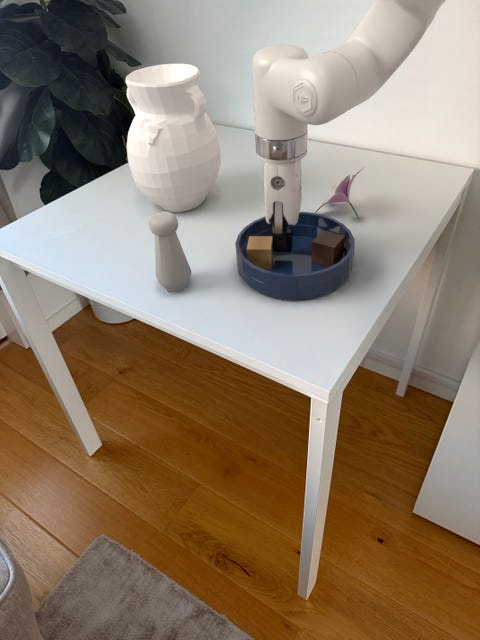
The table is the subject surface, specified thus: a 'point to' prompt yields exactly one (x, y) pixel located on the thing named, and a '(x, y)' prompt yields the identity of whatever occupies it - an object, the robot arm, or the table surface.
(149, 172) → the white vase
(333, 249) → the walnut block
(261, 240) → the maple block
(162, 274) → the salt shaker
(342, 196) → the lily
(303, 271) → the bowl
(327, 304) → the table surface
